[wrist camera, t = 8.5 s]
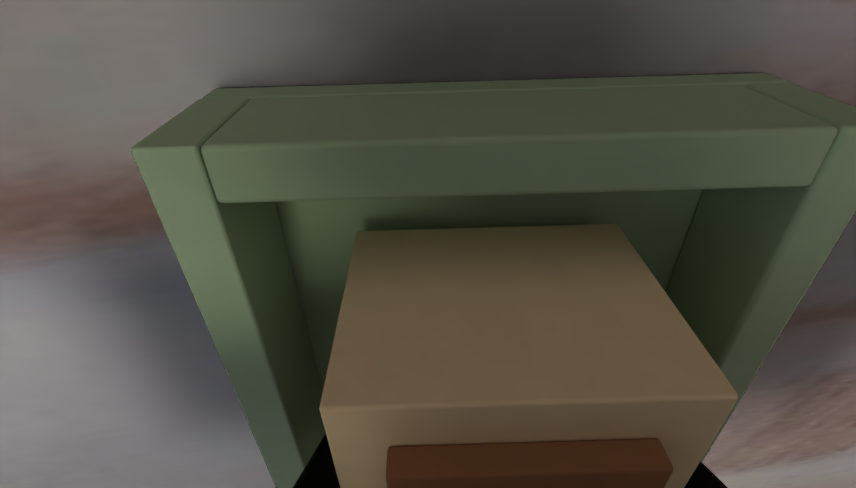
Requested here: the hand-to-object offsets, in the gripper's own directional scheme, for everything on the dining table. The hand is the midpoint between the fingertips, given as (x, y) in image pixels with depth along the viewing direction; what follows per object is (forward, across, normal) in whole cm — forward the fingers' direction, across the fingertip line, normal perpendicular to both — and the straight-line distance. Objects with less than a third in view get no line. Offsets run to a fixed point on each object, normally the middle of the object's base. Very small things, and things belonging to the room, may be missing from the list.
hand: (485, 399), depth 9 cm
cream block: (+1, 0, 0) cm, 1 cm away
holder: (+2, 0, 0) cm, 2 cm away
